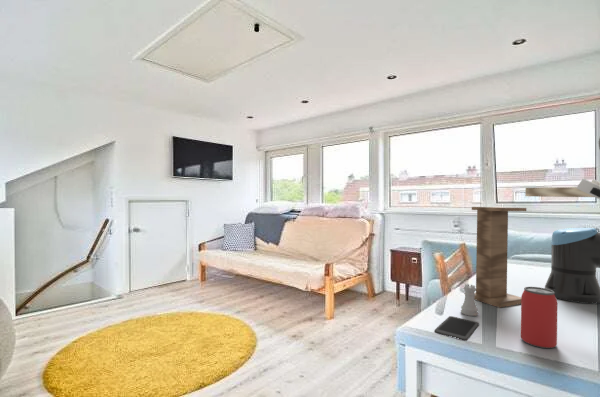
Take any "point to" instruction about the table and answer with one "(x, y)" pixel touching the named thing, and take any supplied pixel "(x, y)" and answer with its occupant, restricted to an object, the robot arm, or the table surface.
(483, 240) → the shelf stand
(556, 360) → the table surface
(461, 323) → the cell phone
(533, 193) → the ash bar
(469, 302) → the rook chess piece
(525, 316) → the beer can
